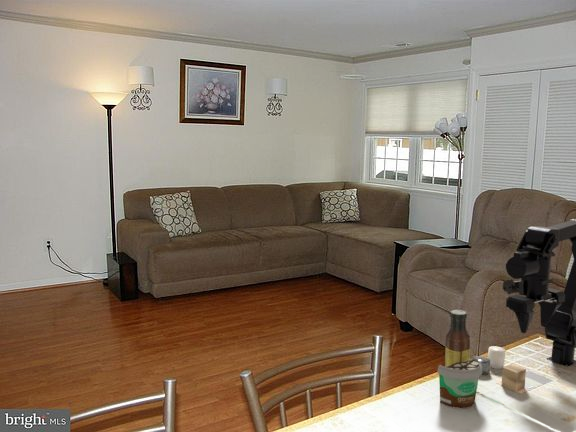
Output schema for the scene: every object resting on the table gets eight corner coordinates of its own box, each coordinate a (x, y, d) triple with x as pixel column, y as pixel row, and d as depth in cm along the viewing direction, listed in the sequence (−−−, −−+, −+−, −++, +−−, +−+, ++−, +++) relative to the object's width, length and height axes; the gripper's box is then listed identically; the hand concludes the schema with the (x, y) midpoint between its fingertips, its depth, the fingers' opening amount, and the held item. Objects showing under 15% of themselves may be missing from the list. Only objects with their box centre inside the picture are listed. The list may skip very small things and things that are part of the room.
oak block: (510, 381, 140) (512, 363, 139) (524, 387, 136) (526, 369, 136) (501, 385, 137) (502, 367, 137) (515, 391, 134) (516, 372, 133)
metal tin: (477, 368, 149) (478, 354, 149) (493, 374, 145) (494, 360, 145) (466, 372, 147) (467, 358, 146) (481, 379, 143) (482, 365, 142)
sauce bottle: (466, 379, 142) (470, 308, 139) (471, 390, 136) (476, 316, 133) (441, 378, 143) (445, 307, 140) (445, 388, 136) (449, 315, 134)
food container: (454, 415, 123) (456, 375, 122) (435, 403, 129) (437, 364, 127) (491, 403, 129) (494, 365, 128) (472, 393, 134) (474, 355, 133)
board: (528, 372, 147) (528, 370, 146) (552, 382, 141) (553, 379, 141) (496, 385, 139) (496, 382, 139) (520, 396, 133) (520, 393, 133)
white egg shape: (493, 363, 153) (495, 345, 152) (507, 368, 149) (508, 350, 148) (484, 366, 150) (485, 348, 150) (497, 372, 147) (498, 353, 146)
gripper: (530, 263, 153) (526, 315, 155) (489, 271, 143) (486, 327, 145) (568, 271, 144) (563, 326, 146) (527, 281, 134) (523, 339, 136)
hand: (533, 329), depth 143 cm, fingers open, 9 cm apart
